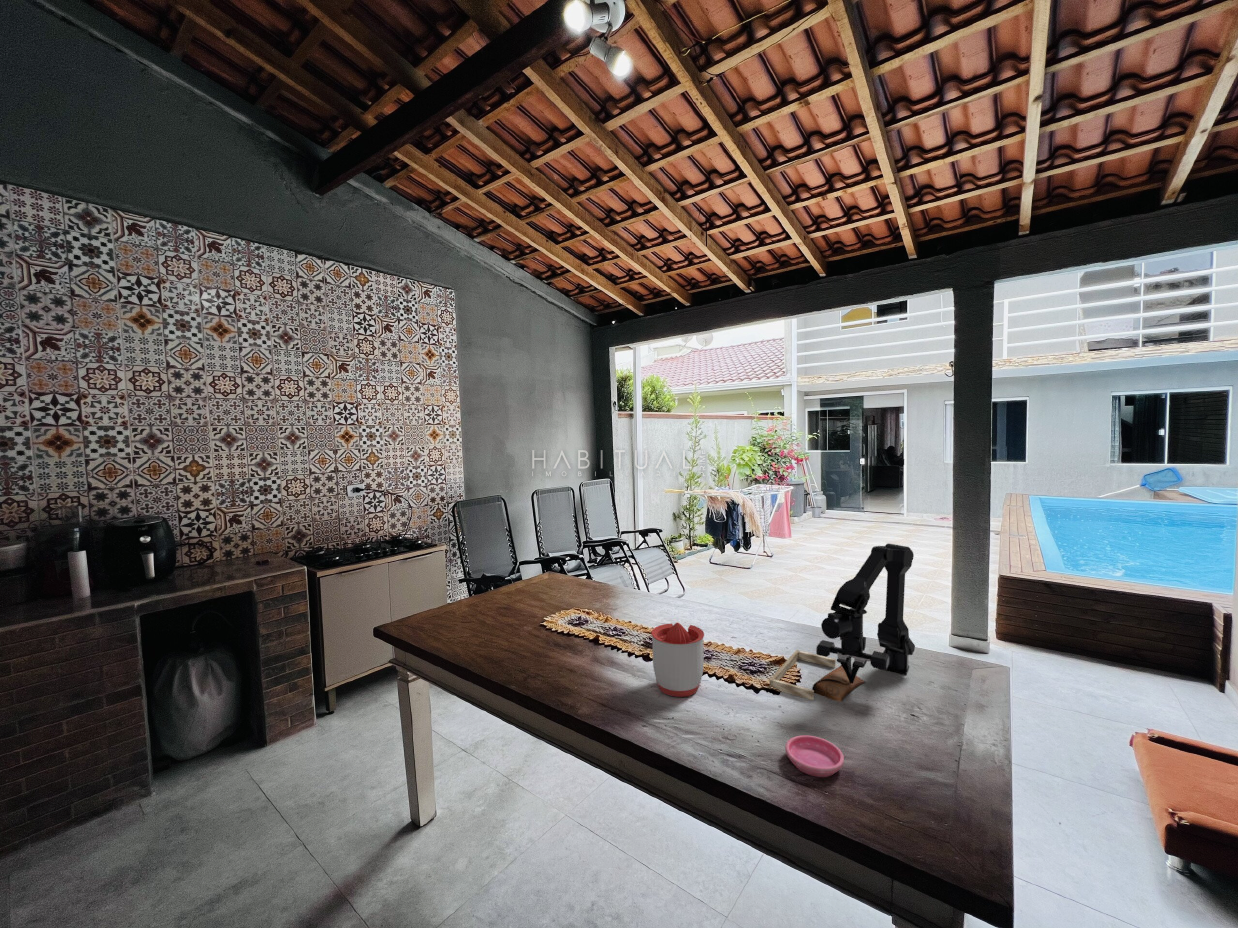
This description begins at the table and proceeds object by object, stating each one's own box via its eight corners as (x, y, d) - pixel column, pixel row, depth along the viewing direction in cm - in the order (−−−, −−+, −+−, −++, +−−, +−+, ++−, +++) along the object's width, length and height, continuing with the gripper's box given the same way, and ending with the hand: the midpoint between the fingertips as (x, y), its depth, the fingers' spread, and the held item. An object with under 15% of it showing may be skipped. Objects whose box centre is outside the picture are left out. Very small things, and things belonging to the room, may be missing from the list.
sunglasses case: (841, 703, 140) (829, 679, 142) (820, 707, 145) (808, 684, 147) (867, 681, 152) (855, 659, 154) (846, 685, 157) (836, 664, 159)
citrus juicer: (708, 675, 157) (707, 613, 156) (701, 704, 141) (701, 634, 140) (658, 670, 162) (657, 609, 161) (647, 698, 145) (646, 630, 144)
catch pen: (835, 666, 162) (835, 659, 162) (812, 700, 142) (812, 691, 142) (796, 657, 169) (796, 649, 169) (769, 687, 149) (769, 679, 149)
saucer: (828, 745, 121) (828, 733, 121) (854, 781, 109) (854, 767, 109) (777, 748, 121) (777, 735, 121) (797, 783, 109) (797, 769, 108)
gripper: (892, 628, 147) (892, 680, 148) (825, 616, 158) (825, 664, 159) (886, 641, 138) (885, 696, 139) (815, 627, 149) (815, 678, 150)
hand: (851, 682), depth 147 cm, fingers closed
